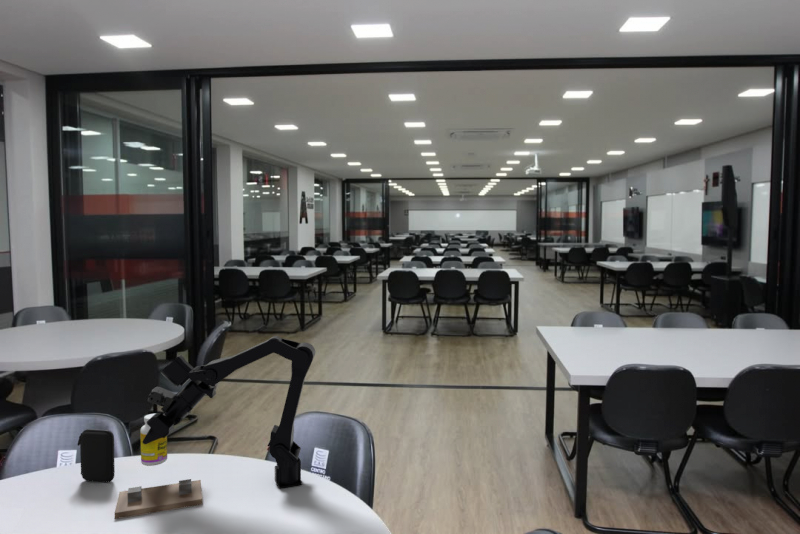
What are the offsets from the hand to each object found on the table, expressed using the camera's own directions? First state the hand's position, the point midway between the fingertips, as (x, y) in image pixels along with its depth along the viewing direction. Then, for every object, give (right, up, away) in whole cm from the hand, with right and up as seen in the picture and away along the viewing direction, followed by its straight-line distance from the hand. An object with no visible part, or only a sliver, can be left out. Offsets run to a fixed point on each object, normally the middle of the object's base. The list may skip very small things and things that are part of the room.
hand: (148, 438), depth 149 cm
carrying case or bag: (-16, -13, +3) cm, 21 cm away
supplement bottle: (+1, -7, 0) cm, 7 cm away
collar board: (+7, -14, -8) cm, 17 cm away
